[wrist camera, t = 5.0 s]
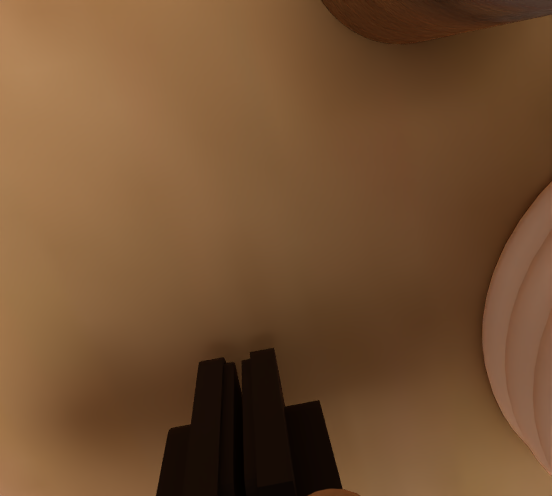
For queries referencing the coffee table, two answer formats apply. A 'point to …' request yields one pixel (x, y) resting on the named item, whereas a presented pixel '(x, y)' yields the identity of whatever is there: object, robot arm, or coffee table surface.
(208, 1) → the coffee table surface
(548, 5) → the posts
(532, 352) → the coaster
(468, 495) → the coffee table surface
